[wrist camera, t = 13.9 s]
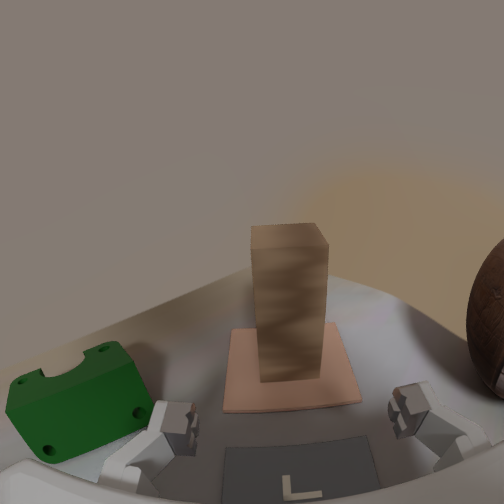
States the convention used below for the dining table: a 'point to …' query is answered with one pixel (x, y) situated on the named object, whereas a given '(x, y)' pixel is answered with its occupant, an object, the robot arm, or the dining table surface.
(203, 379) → the dining table surface
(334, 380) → the coaster
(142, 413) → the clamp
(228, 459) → the gray tile
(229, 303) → the dining table surface
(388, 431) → the dining table surface
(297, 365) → the walnut block
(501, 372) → the brown metallic ball
